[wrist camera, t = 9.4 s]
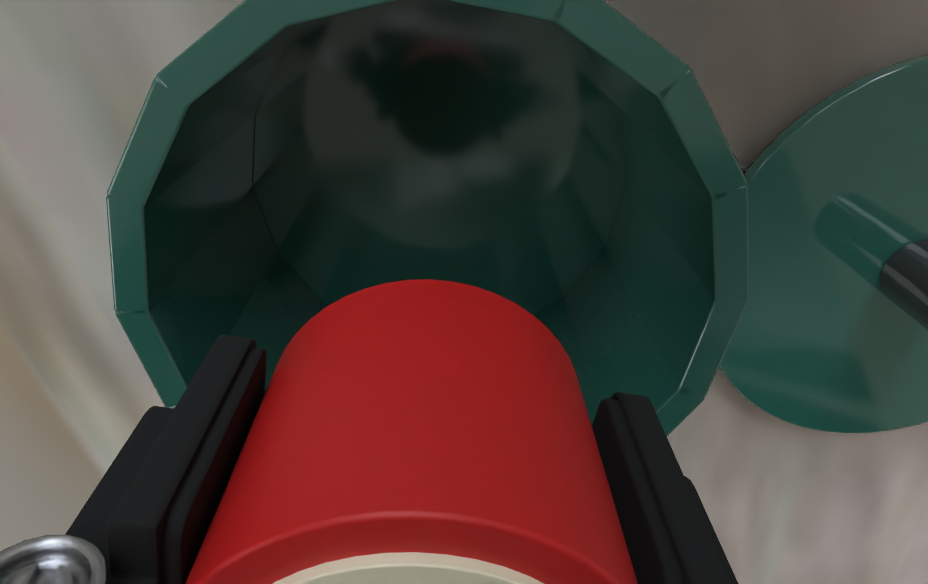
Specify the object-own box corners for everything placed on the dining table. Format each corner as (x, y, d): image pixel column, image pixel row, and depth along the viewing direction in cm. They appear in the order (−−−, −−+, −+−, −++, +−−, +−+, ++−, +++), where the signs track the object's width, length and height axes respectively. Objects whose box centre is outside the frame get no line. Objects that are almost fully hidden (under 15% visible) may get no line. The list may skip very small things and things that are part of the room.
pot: (239, -95, 20) (80, -125, 11) (700, 2, 21) (866, 39, 13) (230, 319, 26) (126, 495, 18) (580, 371, 28) (636, 555, 19)
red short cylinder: (279, 252, 10) (143, 492, 6) (619, 305, 11) (740, 563, 6) (264, 507, 13) (160, 814, 8) (539, 540, 13) (585, 844, 9)
